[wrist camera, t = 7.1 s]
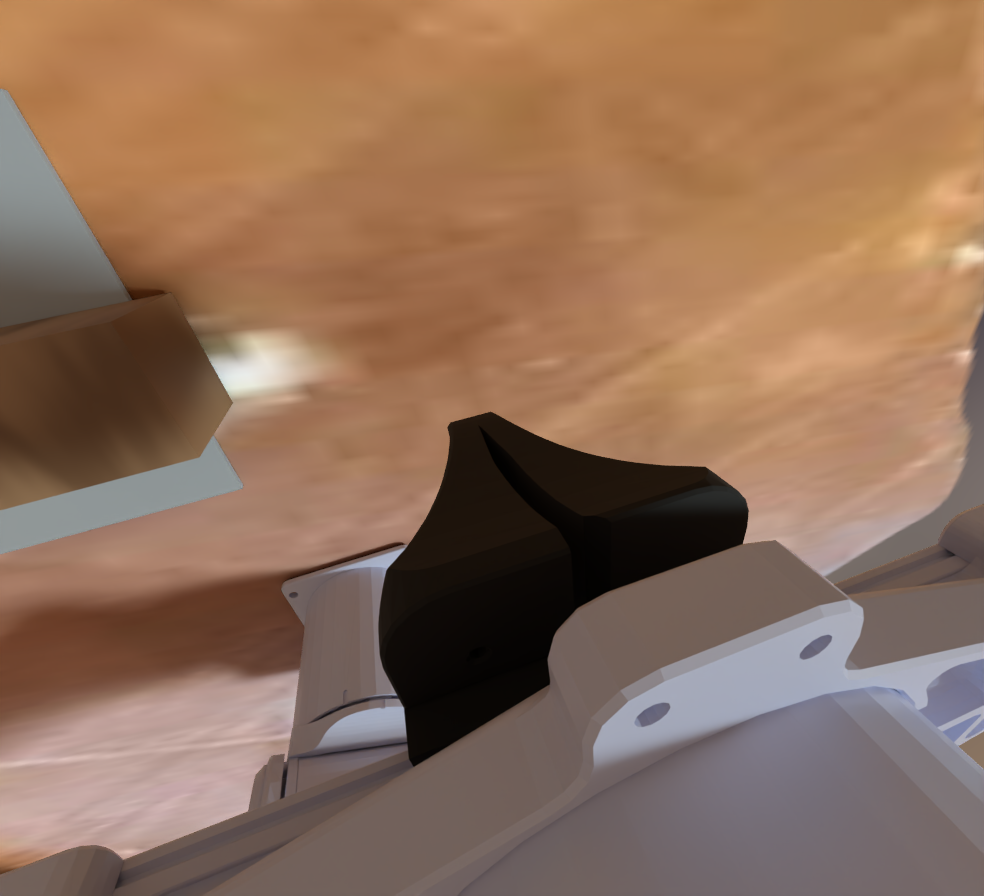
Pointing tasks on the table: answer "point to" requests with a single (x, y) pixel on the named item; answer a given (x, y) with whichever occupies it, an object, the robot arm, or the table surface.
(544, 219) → the table surface
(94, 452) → the walnut block
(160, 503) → the rubber mat
